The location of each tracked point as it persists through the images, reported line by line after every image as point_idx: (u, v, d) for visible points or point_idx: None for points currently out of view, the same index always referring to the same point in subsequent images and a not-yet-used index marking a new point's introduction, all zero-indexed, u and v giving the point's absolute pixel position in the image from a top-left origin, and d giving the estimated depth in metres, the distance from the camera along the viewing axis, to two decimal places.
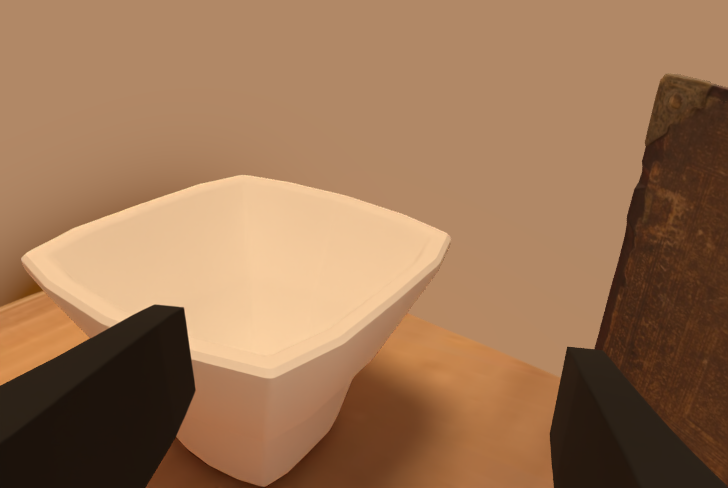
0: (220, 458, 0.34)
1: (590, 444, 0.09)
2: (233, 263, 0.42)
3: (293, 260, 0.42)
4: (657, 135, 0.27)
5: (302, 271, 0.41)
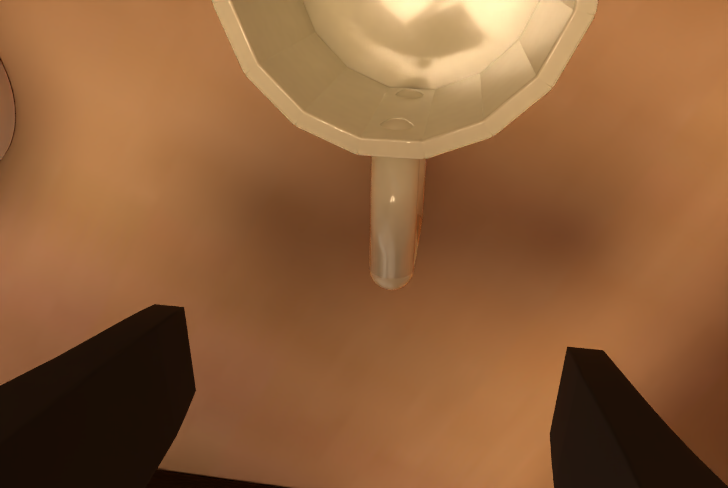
0: None
1: (590, 444, 0.09)
2: None
3: None
4: None
5: None
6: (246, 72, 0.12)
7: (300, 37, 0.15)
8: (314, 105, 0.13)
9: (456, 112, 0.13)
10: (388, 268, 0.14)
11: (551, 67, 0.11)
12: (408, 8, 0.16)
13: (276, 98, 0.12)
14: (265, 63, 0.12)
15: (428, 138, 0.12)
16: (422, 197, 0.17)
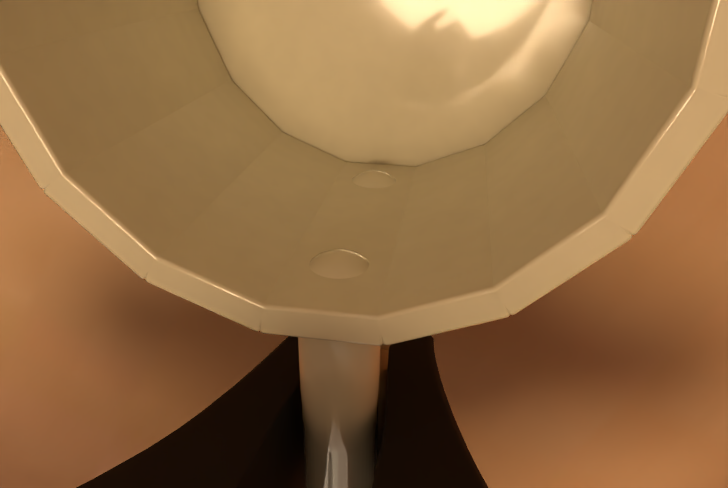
0: None
1: None
2: None
3: None
4: None
5: None
6: (48, 185, 0.07)
7: (196, 95, 0.09)
8: (186, 236, 0.07)
9: (444, 241, 0.08)
10: (331, 486, 0.09)
11: (634, 198, 0.06)
12: (371, 45, 0.10)
13: (104, 235, 0.07)
14: (85, 168, 0.07)
15: (389, 312, 0.06)
16: None
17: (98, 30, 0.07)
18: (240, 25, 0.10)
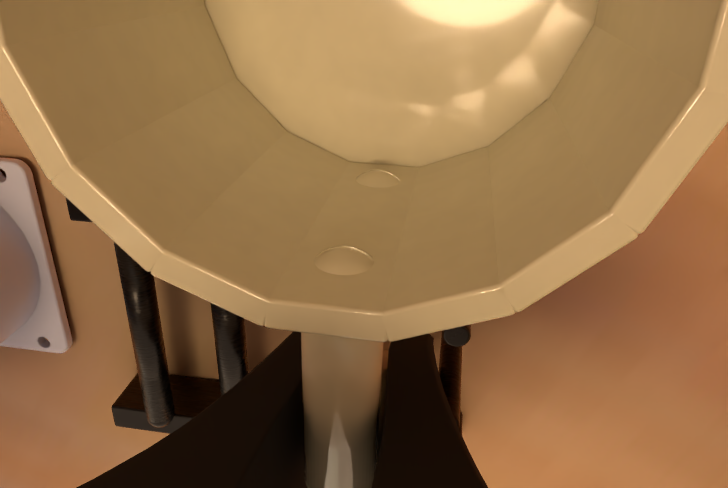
0: None
1: None
2: None
3: None
4: None
5: None
6: (54, 177, 0.07)
7: (202, 91, 0.09)
8: (192, 230, 0.07)
9: (449, 240, 0.08)
10: (332, 485, 0.09)
11: (641, 196, 0.06)
12: (377, 45, 0.10)
13: (110, 227, 0.07)
14: (93, 160, 0.07)
15: (394, 308, 0.07)
16: None
17: (108, 24, 0.08)
18: (246, 24, 0.10)
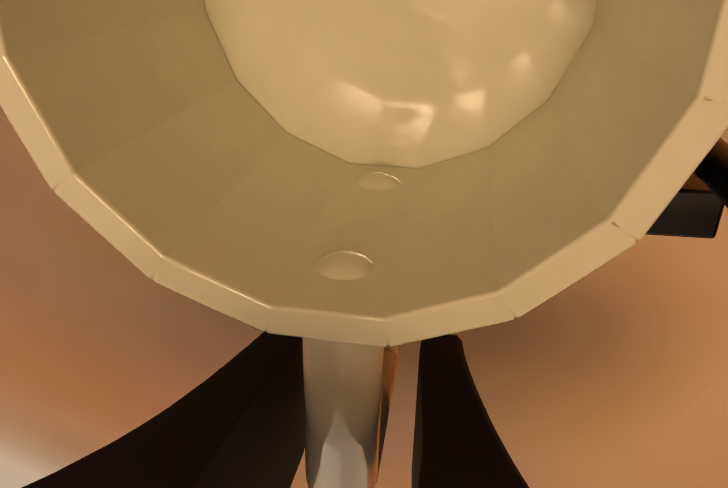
0: None
1: (418, 423, 0.09)
2: None
3: None
4: None
5: None
6: (57, 185, 0.07)
7: (202, 95, 0.10)
8: (194, 236, 0.07)
9: (449, 244, 0.08)
10: (334, 486, 0.09)
11: (639, 203, 0.06)
12: (377, 47, 0.10)
13: (112, 234, 0.07)
14: (94, 167, 0.07)
15: (395, 313, 0.07)
16: None
17: (107, 30, 0.08)
18: (246, 26, 0.10)
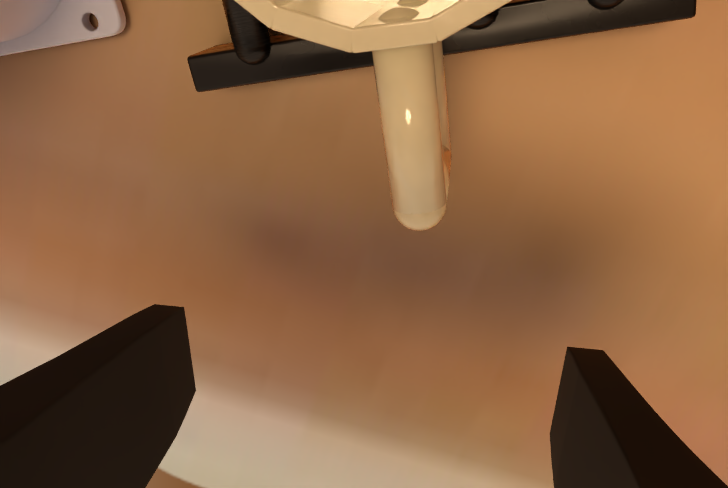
0: None
1: (590, 444, 0.09)
2: None
3: None
4: None
5: None
6: None
7: None
8: (292, 3, 0.10)
9: None
10: (415, 201, 0.12)
11: None
12: None
13: None
14: None
15: (438, 13, 0.10)
16: (447, 125, 0.14)
17: None
18: None
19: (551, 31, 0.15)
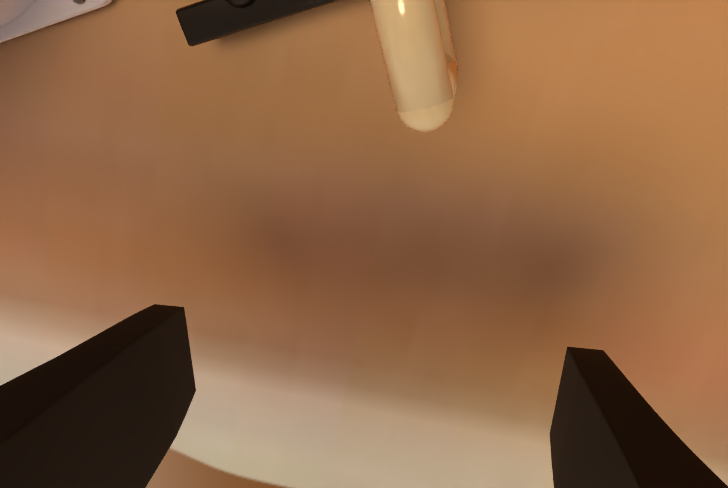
0: None
1: (590, 444, 0.09)
2: None
3: None
4: None
5: None
6: None
7: None
8: None
9: None
10: (418, 94, 0.11)
11: None
12: None
13: None
14: None
15: None
16: (448, 33, 0.13)
17: None
18: None
19: None
